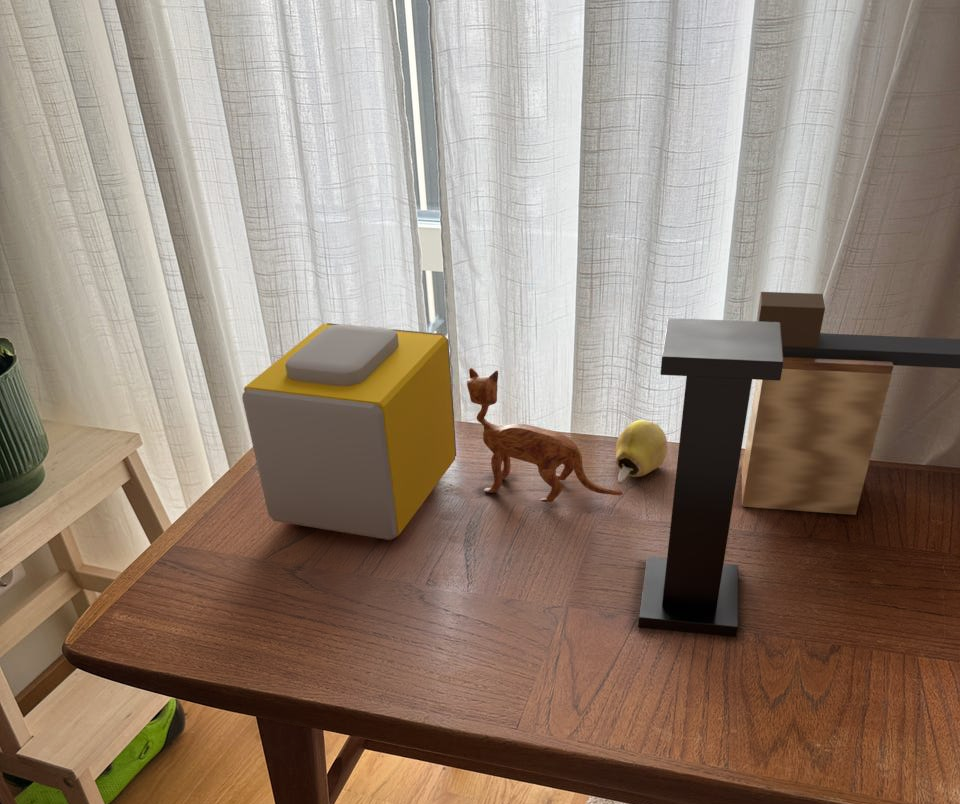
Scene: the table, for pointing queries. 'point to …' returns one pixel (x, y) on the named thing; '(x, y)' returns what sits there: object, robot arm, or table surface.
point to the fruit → (640, 449)
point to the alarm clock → (353, 428)
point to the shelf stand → (707, 470)
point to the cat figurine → (527, 444)
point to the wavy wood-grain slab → (813, 434)
